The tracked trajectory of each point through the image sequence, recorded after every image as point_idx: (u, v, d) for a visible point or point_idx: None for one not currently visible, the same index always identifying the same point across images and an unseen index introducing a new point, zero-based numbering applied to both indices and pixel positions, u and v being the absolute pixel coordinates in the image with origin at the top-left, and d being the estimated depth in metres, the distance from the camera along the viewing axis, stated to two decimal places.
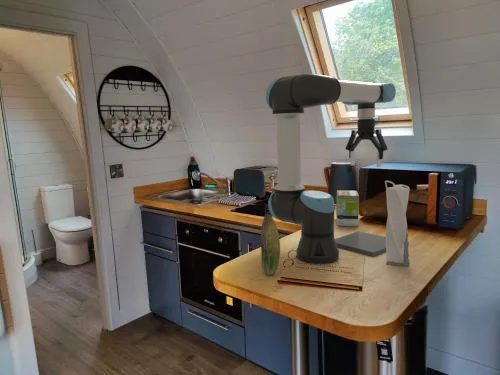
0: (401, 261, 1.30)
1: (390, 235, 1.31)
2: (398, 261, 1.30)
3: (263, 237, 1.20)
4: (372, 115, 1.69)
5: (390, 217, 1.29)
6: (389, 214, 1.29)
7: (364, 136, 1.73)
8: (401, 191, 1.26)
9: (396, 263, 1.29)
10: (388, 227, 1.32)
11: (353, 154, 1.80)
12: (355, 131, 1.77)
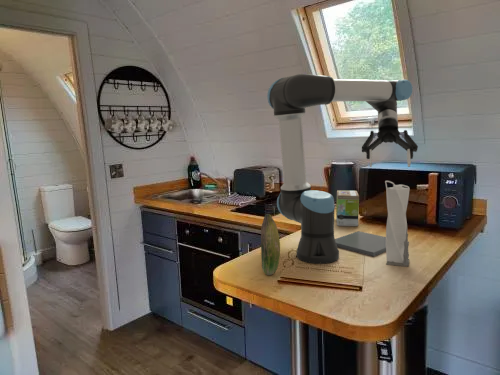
0: (401, 261, 1.30)
1: (390, 235, 1.31)
2: (398, 261, 1.30)
3: (263, 237, 1.20)
4: (397, 120, 1.55)
5: (390, 217, 1.29)
6: (389, 214, 1.29)
7: (388, 136, 1.51)
8: (401, 191, 1.26)
9: (396, 263, 1.29)
10: (388, 227, 1.32)
11: (371, 154, 1.49)
12: (374, 133, 1.54)
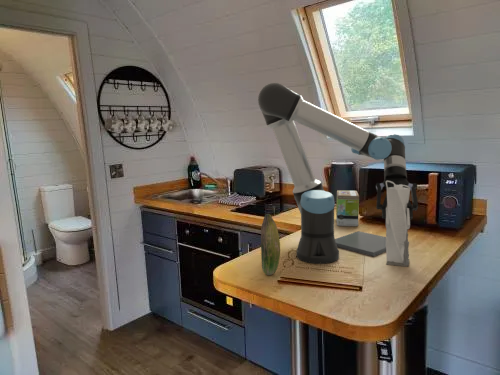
0: (401, 261, 1.30)
1: (390, 235, 1.31)
2: (398, 261, 1.30)
3: (263, 237, 1.20)
4: (405, 167, 1.39)
5: (390, 217, 1.29)
6: (389, 214, 1.29)
7: None
8: (402, 191, 1.26)
9: (396, 263, 1.29)
10: (388, 227, 1.32)
11: None
12: (380, 184, 1.37)
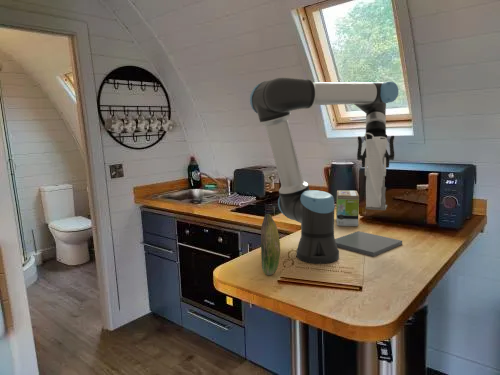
0: (379, 206, 1.43)
1: (369, 183, 1.44)
2: (376, 206, 1.43)
3: (263, 237, 1.20)
4: (385, 122, 1.51)
5: (369, 166, 1.42)
6: (368, 163, 1.42)
7: None
8: (379, 141, 1.39)
9: (374, 208, 1.43)
10: (368, 176, 1.45)
11: None
12: (361, 138, 1.50)
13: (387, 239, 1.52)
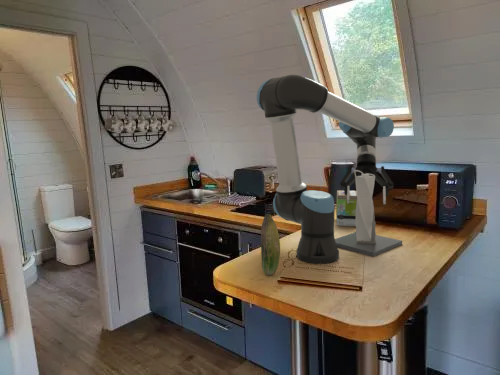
0: (369, 240, 1.49)
1: (359, 218, 1.50)
2: (366, 240, 1.49)
3: (263, 237, 1.20)
4: (375, 155, 1.58)
5: (359, 202, 1.48)
6: (358, 199, 1.48)
7: (366, 172, 1.53)
8: (368, 179, 1.46)
9: (365, 242, 1.49)
10: (357, 211, 1.51)
11: (349, 190, 1.51)
12: (352, 168, 1.57)
13: (387, 239, 1.52)
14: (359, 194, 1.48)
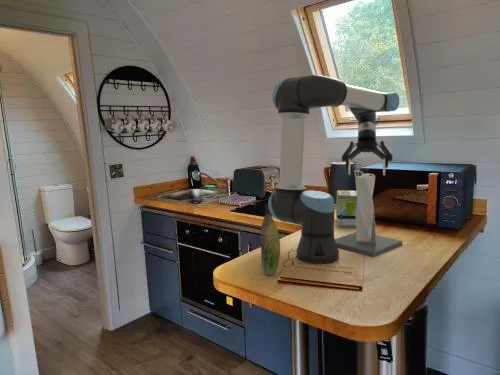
0: (369, 240, 1.49)
1: (359, 218, 1.50)
2: (366, 240, 1.49)
3: (263, 237, 1.20)
4: (375, 131, 1.68)
5: (359, 202, 1.48)
6: (358, 199, 1.48)
7: (366, 146, 1.63)
8: (368, 179, 1.46)
9: (365, 242, 1.49)
10: (357, 211, 1.51)
11: (350, 163, 1.61)
12: (354, 143, 1.66)
13: (387, 239, 1.52)
14: (359, 194, 1.48)
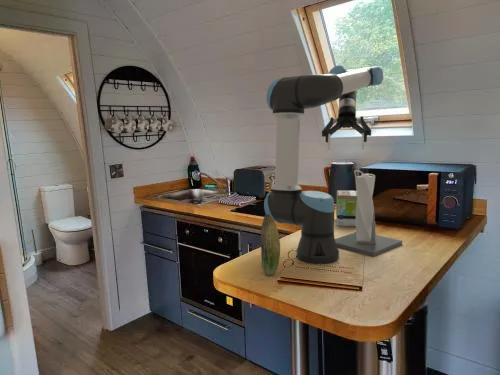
0: (369, 240, 1.49)
1: (359, 218, 1.50)
2: (366, 240, 1.49)
3: (263, 237, 1.20)
4: (355, 107, 1.69)
5: (359, 202, 1.48)
6: (358, 199, 1.48)
7: (346, 122, 1.65)
8: (368, 179, 1.46)
9: (365, 242, 1.49)
10: (357, 211, 1.51)
11: (330, 138, 1.63)
12: (334, 119, 1.68)
13: (387, 239, 1.52)
14: (359, 194, 1.48)
